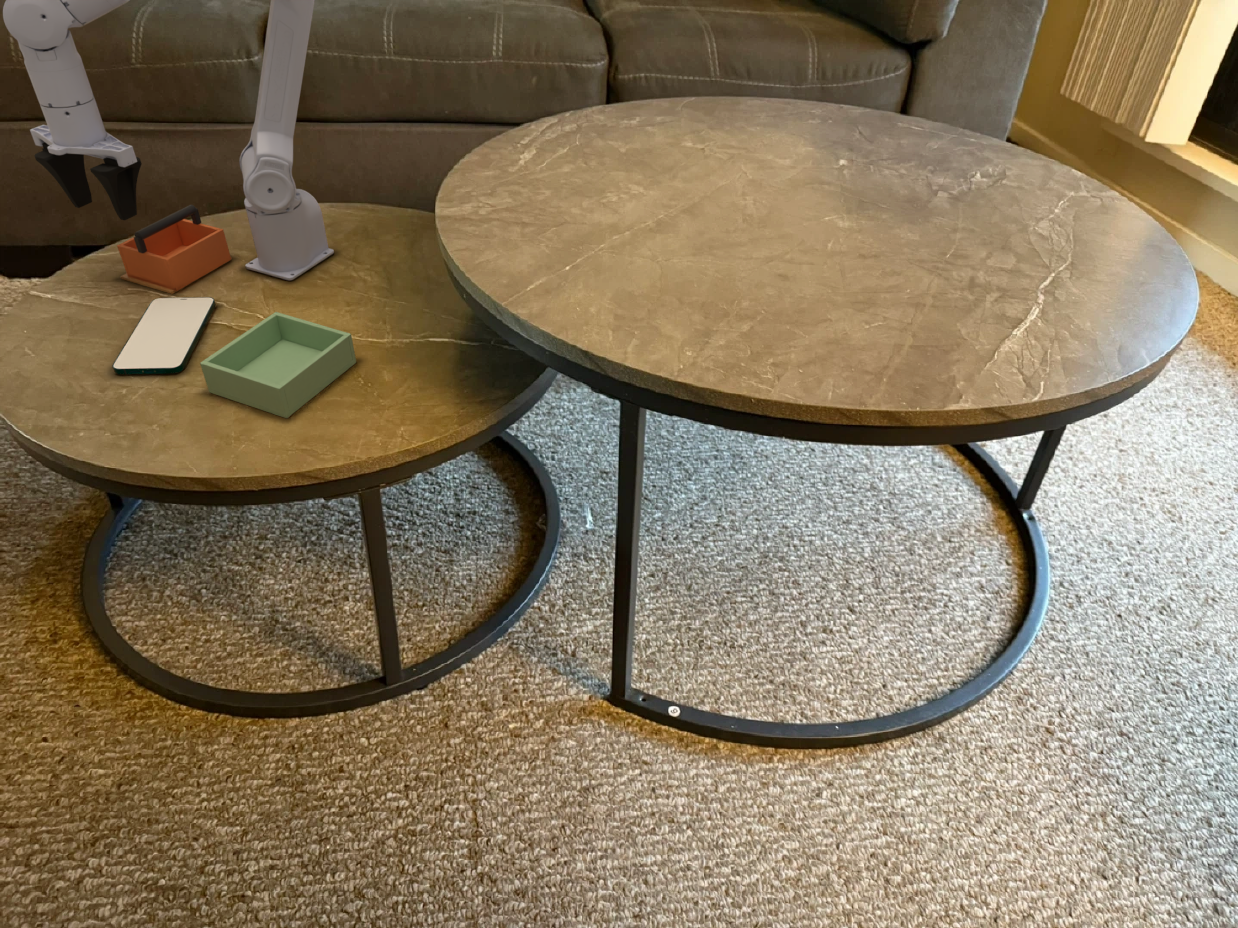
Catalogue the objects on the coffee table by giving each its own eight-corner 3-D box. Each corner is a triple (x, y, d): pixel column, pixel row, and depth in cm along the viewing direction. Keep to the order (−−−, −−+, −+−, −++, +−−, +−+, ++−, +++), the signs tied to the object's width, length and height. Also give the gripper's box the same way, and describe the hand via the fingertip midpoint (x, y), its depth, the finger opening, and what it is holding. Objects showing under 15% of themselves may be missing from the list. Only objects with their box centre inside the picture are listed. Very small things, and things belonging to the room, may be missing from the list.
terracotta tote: (184, 245, 129) (170, 197, 124) (232, 258, 126) (219, 209, 121) (126, 276, 121) (109, 226, 117) (175, 291, 119) (159, 240, 114)
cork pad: (182, 245, 129) (182, 243, 129) (232, 259, 127) (231, 256, 126) (121, 278, 122) (120, 276, 121) (172, 294, 119) (171, 291, 119)
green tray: (282, 339, 111) (275, 311, 109) (356, 362, 108) (351, 333, 105) (209, 392, 103) (199, 362, 100) (287, 418, 99) (279, 388, 97)
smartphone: (182, 374, 105) (218, 303, 117) (180, 368, 104) (216, 296, 117) (111, 376, 104) (154, 303, 117) (108, 369, 104) (152, 297, 116)
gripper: (-9, 99, 104) (36, 211, 113) (84, 121, 100) (123, 235, 109) (44, 82, 109) (83, 190, 118) (134, 102, 105) (168, 213, 114)
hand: (106, 210), depth 114 cm, fingers open, 7 cm apart
